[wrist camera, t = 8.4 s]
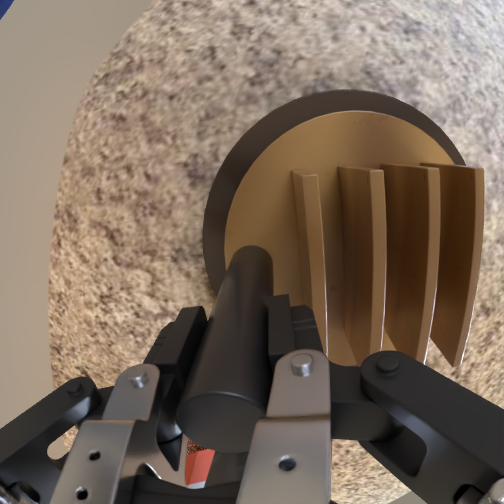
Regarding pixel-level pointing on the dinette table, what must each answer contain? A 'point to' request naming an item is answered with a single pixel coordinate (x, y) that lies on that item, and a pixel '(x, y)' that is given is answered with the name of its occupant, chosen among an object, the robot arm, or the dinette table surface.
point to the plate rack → (337, 261)
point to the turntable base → (272, 130)
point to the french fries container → (198, 468)
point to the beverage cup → (226, 468)
